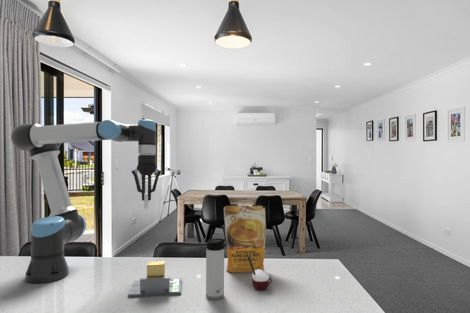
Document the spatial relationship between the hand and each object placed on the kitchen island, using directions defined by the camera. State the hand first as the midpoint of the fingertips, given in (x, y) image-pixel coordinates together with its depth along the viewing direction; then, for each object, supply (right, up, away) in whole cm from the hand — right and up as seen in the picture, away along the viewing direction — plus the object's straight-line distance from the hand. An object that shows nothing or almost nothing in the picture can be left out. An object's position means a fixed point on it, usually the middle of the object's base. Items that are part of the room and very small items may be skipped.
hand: (146, 207), depth 141 cm
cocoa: (+49, -27, -23) cm, 60 cm away
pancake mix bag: (+44, -27, -3) cm, 51 cm away
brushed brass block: (+13, -25, -26) cm, 38 cm away
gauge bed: (+10, -26, -24) cm, 37 cm away
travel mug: (+33, -26, -30) cm, 51 cm away
